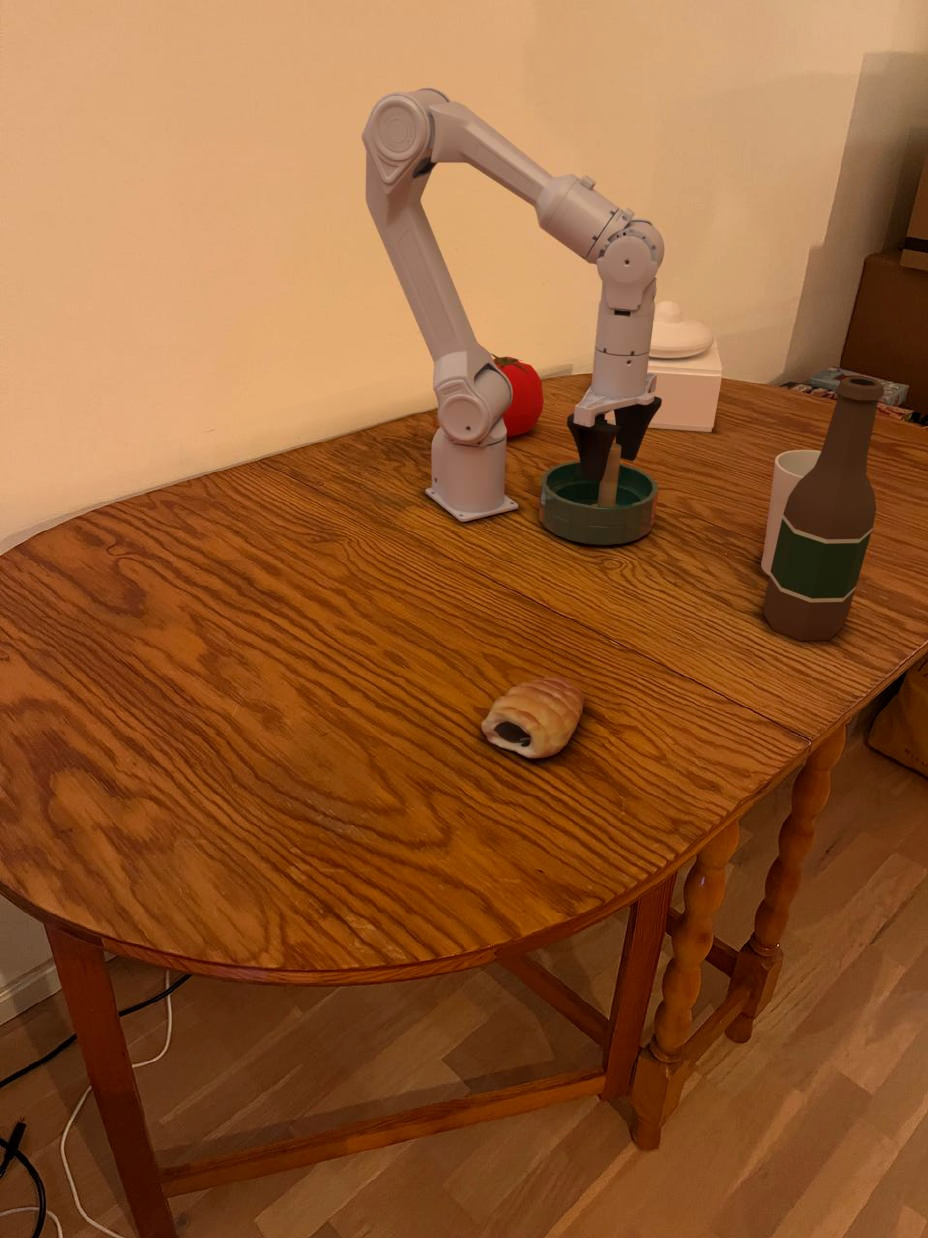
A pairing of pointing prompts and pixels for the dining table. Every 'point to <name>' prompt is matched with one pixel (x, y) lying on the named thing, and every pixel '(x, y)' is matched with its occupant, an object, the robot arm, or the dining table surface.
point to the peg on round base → (610, 478)
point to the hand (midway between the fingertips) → (609, 468)
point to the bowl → (597, 525)
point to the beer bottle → (827, 524)
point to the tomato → (521, 395)
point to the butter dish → (682, 371)
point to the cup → (784, 494)
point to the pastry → (535, 717)
